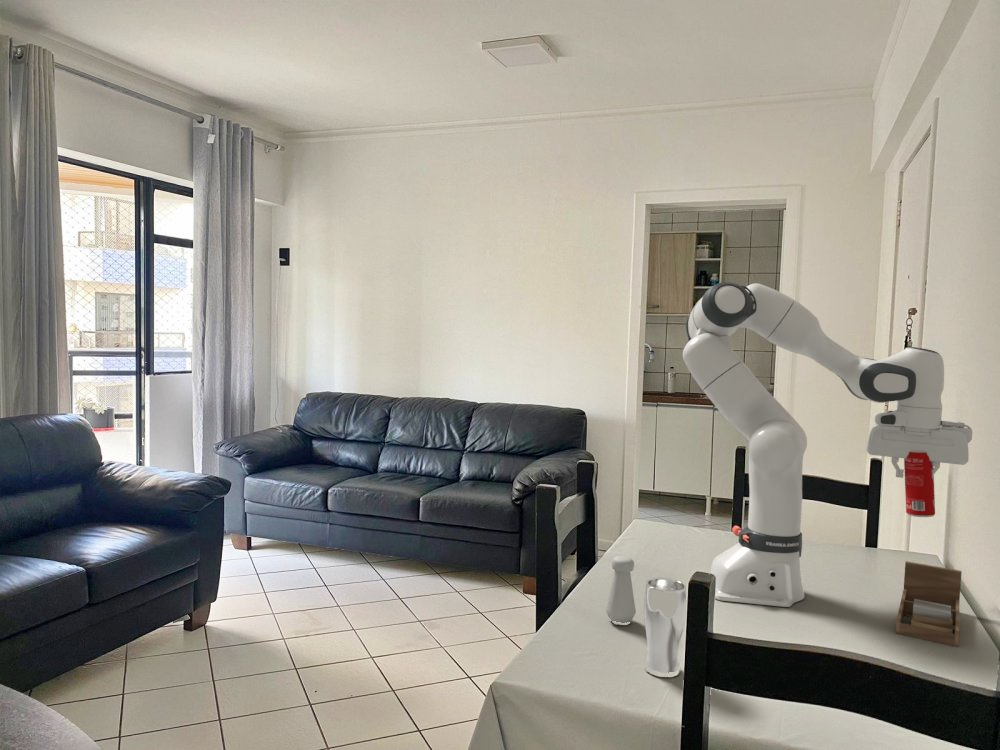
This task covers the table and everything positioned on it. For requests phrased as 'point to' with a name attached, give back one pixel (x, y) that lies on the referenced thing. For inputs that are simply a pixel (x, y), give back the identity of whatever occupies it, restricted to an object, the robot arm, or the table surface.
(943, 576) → the rack
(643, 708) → the table surface
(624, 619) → the salt shaker
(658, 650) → the beer glass
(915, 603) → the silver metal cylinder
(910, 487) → the beverage can
